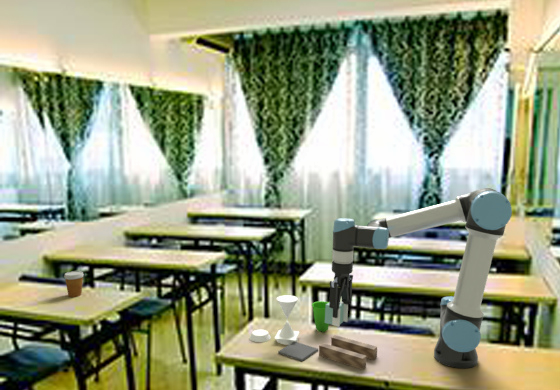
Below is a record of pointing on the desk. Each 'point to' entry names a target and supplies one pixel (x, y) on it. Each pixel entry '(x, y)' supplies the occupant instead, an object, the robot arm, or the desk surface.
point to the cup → (320, 315)
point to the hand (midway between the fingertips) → (339, 323)
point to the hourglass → (286, 333)
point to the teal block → (330, 313)
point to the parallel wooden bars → (348, 351)
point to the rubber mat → (298, 351)
